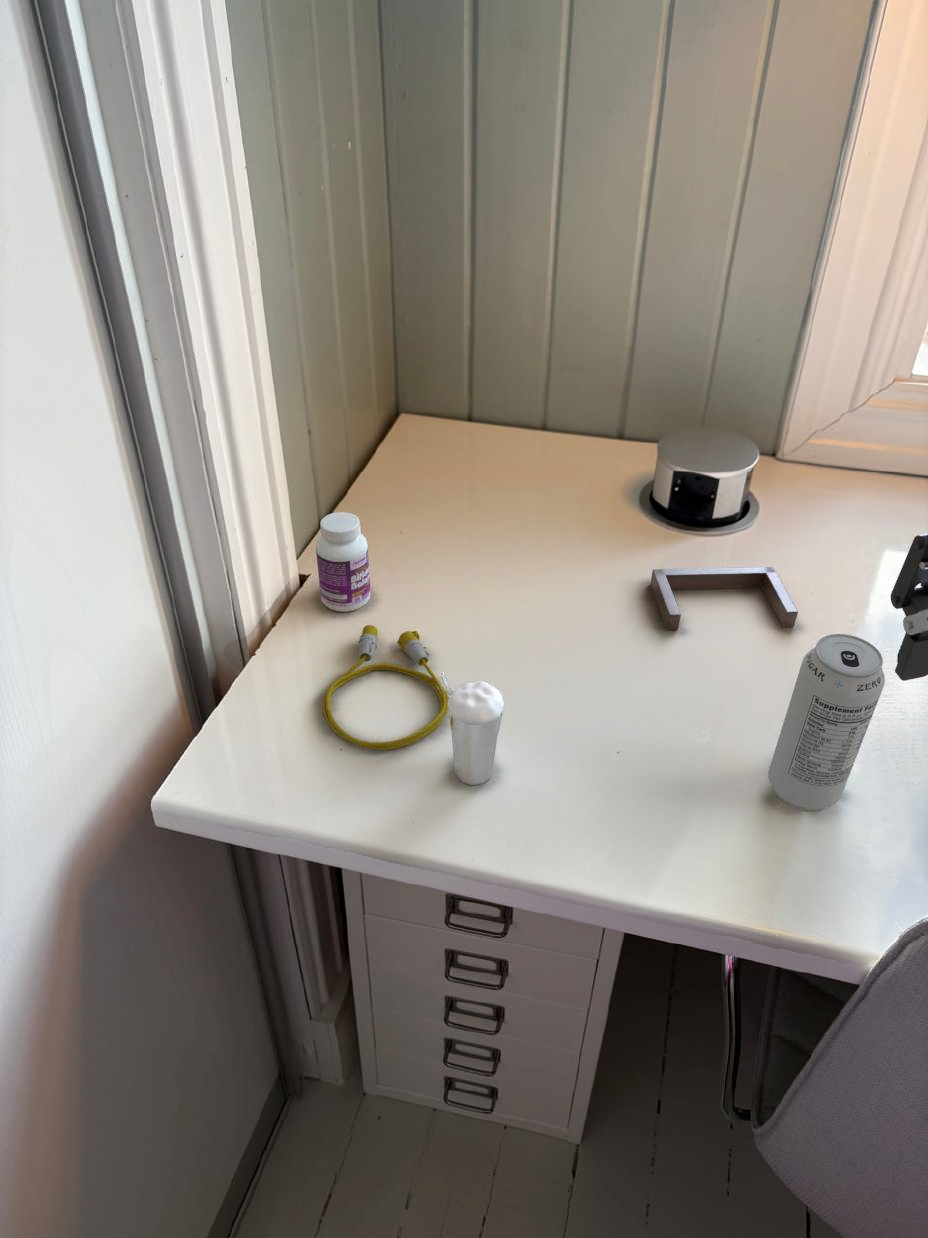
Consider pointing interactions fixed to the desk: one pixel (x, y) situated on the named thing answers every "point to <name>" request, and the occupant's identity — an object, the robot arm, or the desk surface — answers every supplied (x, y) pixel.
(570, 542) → the desk surface
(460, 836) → the desk surface
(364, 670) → the extension cord
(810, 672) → the energy drink can
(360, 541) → the pill bottle
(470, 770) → the milkshake
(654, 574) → the bay
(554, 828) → the desk surface
